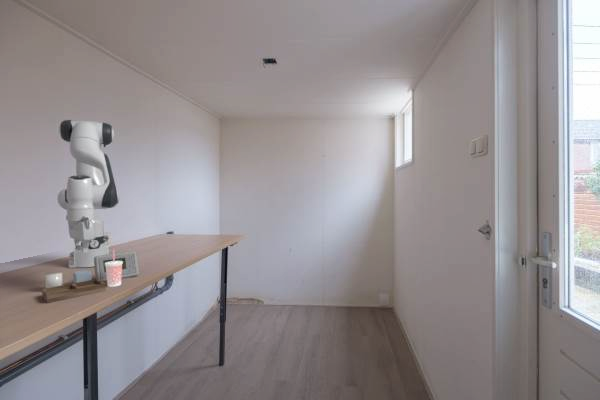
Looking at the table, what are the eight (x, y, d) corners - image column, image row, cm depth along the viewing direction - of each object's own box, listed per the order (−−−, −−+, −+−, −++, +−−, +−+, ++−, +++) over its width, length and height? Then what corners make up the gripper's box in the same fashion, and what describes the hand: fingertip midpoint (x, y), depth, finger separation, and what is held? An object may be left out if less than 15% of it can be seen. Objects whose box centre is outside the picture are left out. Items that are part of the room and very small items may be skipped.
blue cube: (73, 284, 122) (73, 272, 122) (88, 281, 126) (87, 269, 126) (76, 287, 119) (76, 274, 119) (91, 284, 123) (91, 271, 123)
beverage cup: (110, 282, 124) (109, 248, 124) (126, 282, 125) (125, 248, 124) (101, 287, 118) (101, 251, 118) (118, 287, 118) (117, 251, 118)
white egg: (44, 289, 116) (44, 274, 116) (61, 286, 119) (60, 271, 119) (47, 292, 112) (46, 276, 112) (64, 289, 116) (63, 273, 116)
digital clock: (94, 284, 122) (93, 257, 122) (94, 279, 130) (94, 254, 130) (139, 278, 131) (139, 253, 131) (137, 273, 139) (137, 249, 138)
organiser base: (42, 296, 108) (42, 289, 108) (98, 285, 121) (97, 278, 121) (47, 303, 102) (47, 294, 102) (105, 290, 115) (105, 283, 114)
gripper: (98, 216, 117) (98, 252, 117) (83, 215, 131) (84, 247, 131) (78, 217, 112) (79, 255, 113) (65, 215, 126) (65, 249, 126)
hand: (81, 251), depth 122 cm, fingers open, 8 cm apart
